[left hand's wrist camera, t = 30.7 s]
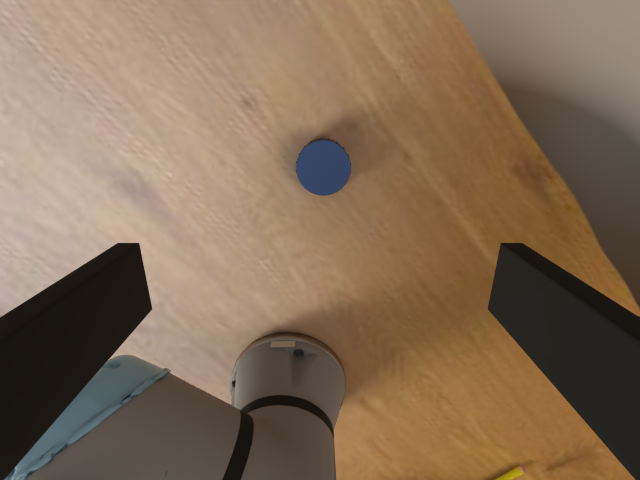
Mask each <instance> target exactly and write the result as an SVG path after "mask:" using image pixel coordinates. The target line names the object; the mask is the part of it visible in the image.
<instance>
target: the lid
mask: <svg viewBox="0 0 640 480" xmlns="http://www.w3.org/2000/svg"><path fill="white" fill-rule="evenodd" d="M296 163H297V165H296V172H297V176H298V179H299V181H300V183H301V184H302V185H303V187H304V188H305V189H307V190H308V191H309V192H311V193H313V194H316V195H331V194H333V193H336V192H338V191H339V190H340V189H342V188H343V187H344V185H345V184H346V183H347V181H348V179H349V176H350V172H351V163H350V160H349V155H348V154H347V153H346V152H345V150H344V147H341V146H340V145H339V144H338V143H337V142H334V141H332V140H329V139H321V138H320V139H319V140H315V141H311V143H309V144H308V145H307V146H304V149H303V150H302V151H301V153H299V157H298V160H297V162H296Z"/></svg>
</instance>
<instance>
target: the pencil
mask: <svg viewBox="0 0 640 480" xmlns="http://www.w3.org/2000/svg"><path fill="white" fill-rule="evenodd" d="M523 473H525V470H524V469H523V467H522V466H521V465H520V466H518V467H516V468H514V469H513V470H511V471H509V472H507V473H505V474H504V475H502V476H500V477H498V478H496V479H495V480H512V479H514V478H516V477H518V476H520V475H521V474H523Z"/></svg>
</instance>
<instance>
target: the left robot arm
mask: <svg viewBox="0 0 640 480" xmlns="http://www.w3.org/2000/svg"><path fill="white" fill-rule="evenodd" d="M151 310H152V306H151V301H150V296H149V291H148V286H147V281H146V276H145V270H144V265H143V260H142V255H141V250H140V245H139V243H117V244H116V245H114V246H113V247H111V248H109V249H108V250H106V251H105V252H103V253H102V254H100V255H98V256H97V257H95V258H94V259H92V260H90V261H89V262H87V263H86V264H84V265H83V266H81V267H79V268H78V269H76V270H75V271H73V272H72V273H70V274H68V275H67V276H65V277H64V278H62V279H60V280H59V281H57V282H56V283H54V284H53V285H51V286H49V287H48V288H46V289H45V290H43V291H42V292H40V293H38V294H37V295H35V296H34V297H32V298H30V299H29V300H27V301H26V302H24V303H23V304H21V305H19V306H18V307H16V308H15V309H13V310H11V311H10V312H8V313H7V314H5V315H4V316H2V317H0V480H336V467H335V449H334V427H335V424H336V421H337V418H338V414H339V410H340V408H341V406H342V403H343V400H344V396H345V374H344V369H343V366H342V364H341V362H340V360H339V358H338V357H337V355H336V354H335V353H334V352H333V351H332V350H331V349H330V348H329V347H328V346H327V345H325V344H324V343H322V342H320V341H319V340H317V339H314V338H312V337H309V336H306V335H302V334H295V333H279V334H273V335H269V336H266V337H263V338H261V339H259V340H257V341H255V342H253V343H252V344H250V345H249V346H248V347H247V348H246V349H245V350H244V351H243V352H242V353H241V354H240V356H239V358H238V359H237V361H236V364H235V367H234V370H233V373H232V378H231V397H232V405H230V404H228V403H226V402H224V401H222V400H220V399H218V398H216V397H215V396H213V395H211V394H209V393H207V392H205V391H203V390H201V389H199V388H197V387H195V386H193V385H191V384H189V383H187V382H186V381H184V380H182V379H180V378H178V377H176V376H174V375H173V374H171V373H169V372H170V371H171V370H169V369H167V368H165V369H162V368H160V367H157V366H155V365H153V364H151V363H149V362H146V361H144V360H142V359H140V358H138V357H135V356H131V355H121V356H117V357H114V358H112V359H110V360H108V359H109V358H110V357H111V356H112V355H113V354H114V353H115V351H116V350H117V349H118V348H119V347H120V346H121V344H122V343H123V342H124V341H125V340H126V339H127V338H128V336H129V335H130V334H131V333H132V332H133V331H134V329H135V328H136V327H137V326H138V325H139V324H140V323H141V321H142V320H143V319H144V318H145V317H146V316H147V314H148V313H149V312H150V311H151ZM488 310H489V311H490V312H491V313H492V314H493V316H494V317H495V318H496V319H497V320H498V321H499V323H500V324H501V325H502V326H503V327H504V328H505V329H506V331H507V332H508V333H509V334H510V335H511V336H512V338H513V339H514V340H515V341H516V342H517V343H518V344H519V346H520V347H521V348H522V349H523V350H524V351H525V353H526V354H527V355H528V356H529V357H530V358H531V359H532V361H533V362H534V363H535V364H536V365H537V366H538V368H539V369H540V370H541V371H542V372H543V373H544V374H545V376H546V377H547V378H548V379H549V380H550V381H551V383H552V384H553V385H554V386H555V387H556V388H557V389H558V391H559V392H560V393H561V394H562V395H563V396H564V398H565V399H566V400H567V401H568V402H569V403H570V404H571V406H572V407H573V408H574V409H575V410H576V411H577V413H578V414H579V415H580V416H581V417H582V418H583V419H584V421H585V422H586V423H587V424H588V425H589V426H590V428H591V429H592V430H593V431H594V432H595V433H596V434H597V436H598V437H599V438H600V439H601V440H602V441H603V443H604V444H605V445H606V446H607V447H608V448H609V450H610V451H611V452H612V453H613V454H614V455H615V456H616V458H617V459H618V460H619V461H620V462H621V463H622V465H623V466H624V467H625V468H626V469H627V470H628V471H629V473H630V474H631V475H632V476H633V477H634V478H635V480H640V317H639V316H637V315H635V314H633V313H632V312H630V311H629V310H627V309H625V308H624V307H622V306H621V305H619V304H617V303H616V302H614V301H613V300H611V299H610V298H608V297H606V296H605V295H603V294H602V293H600V292H598V291H597V290H595V289H594V288H592V287H591V286H589V285H587V284H586V283H584V282H583V281H581V280H580V279H578V278H576V277H575V276H573V275H572V274H570V273H568V272H567V271H565V270H564V269H562V268H561V267H559V266H557V265H556V264H554V263H553V262H551V261H549V260H548V259H546V258H545V257H543V256H542V255H540V254H538V253H537V252H535V251H534V250H532V249H531V248H529V247H527V246H526V245H524V244H523V243H501V245H500V250H499V255H498V260H497V265H496V270H495V276H494V281H493V286H492V291H491V296H490V301H489V306H488Z"/></svg>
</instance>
